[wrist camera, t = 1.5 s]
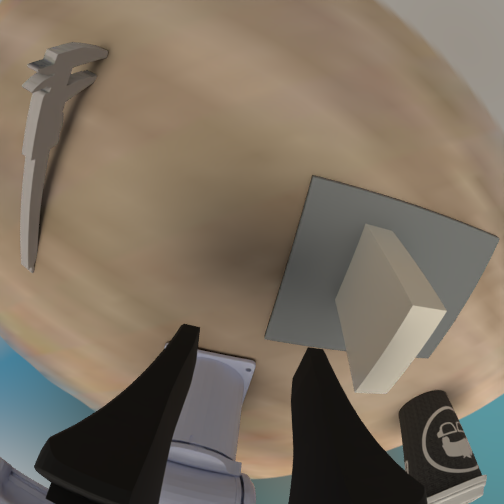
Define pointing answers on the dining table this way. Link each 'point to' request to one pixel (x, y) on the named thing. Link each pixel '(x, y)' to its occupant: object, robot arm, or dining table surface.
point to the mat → (343, 248)
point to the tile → (384, 311)
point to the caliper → (48, 127)
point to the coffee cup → (439, 451)
